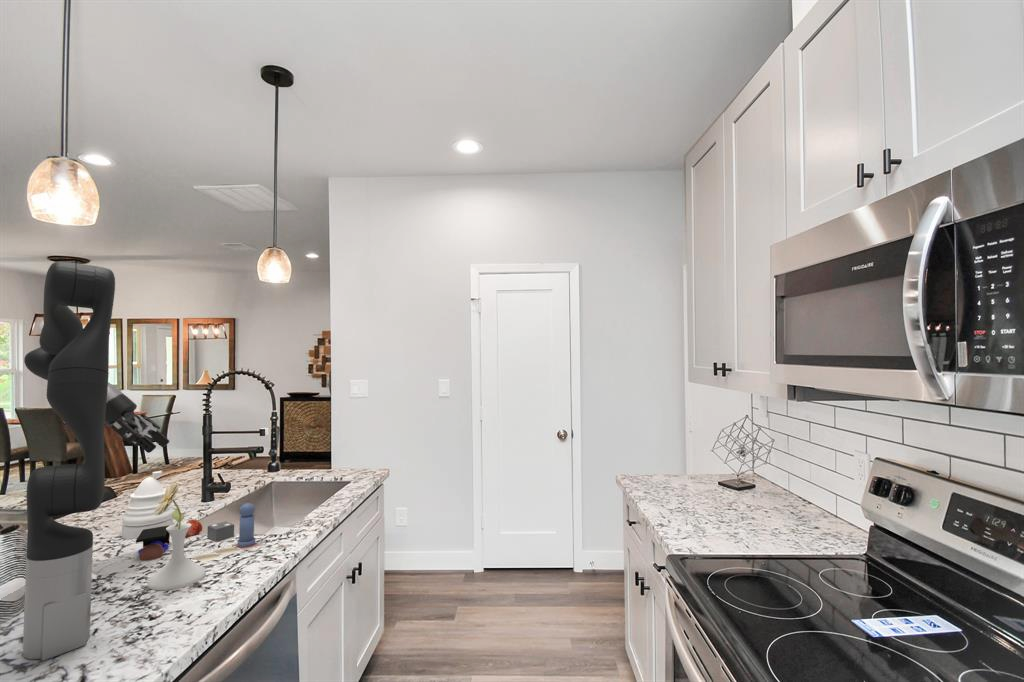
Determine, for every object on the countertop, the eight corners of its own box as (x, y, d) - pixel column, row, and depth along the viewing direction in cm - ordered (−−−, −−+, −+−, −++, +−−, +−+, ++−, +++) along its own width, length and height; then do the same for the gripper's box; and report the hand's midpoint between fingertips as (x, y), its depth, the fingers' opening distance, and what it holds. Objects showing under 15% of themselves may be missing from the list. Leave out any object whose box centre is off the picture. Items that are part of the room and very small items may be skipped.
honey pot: (171, 522, 162) (173, 466, 163) (174, 532, 152) (176, 473, 153) (122, 530, 155) (123, 472, 155) (121, 542, 144) (123, 479, 145)
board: (264, 550, 138) (264, 544, 138) (202, 570, 125) (202, 564, 125) (248, 544, 143) (249, 538, 143) (187, 562, 130) (188, 557, 130)
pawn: (258, 544, 139) (259, 502, 139) (242, 549, 135) (243, 506, 136) (250, 540, 141) (250, 500, 142) (234, 545, 138) (235, 503, 138)
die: (233, 541, 145) (234, 523, 145) (215, 547, 140) (216, 528, 141) (225, 538, 147) (225, 520, 148) (207, 543, 143) (207, 525, 143)
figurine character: (141, 555, 139) (133, 568, 126) (142, 526, 140) (134, 536, 127) (170, 550, 142) (165, 562, 129) (171, 522, 143) (167, 532, 130)
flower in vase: (156, 579, 120) (159, 475, 121) (210, 572, 124) (212, 471, 125) (137, 604, 108) (140, 488, 108) (197, 595, 112) (200, 483, 113)
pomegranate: (186, 541, 150) (169, 532, 144) (198, 523, 153) (182, 514, 147) (201, 545, 148) (184, 536, 142) (212, 527, 151) (196, 517, 146)
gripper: (107, 394, 119) (161, 440, 122) (134, 391, 132) (182, 432, 135) (79, 417, 117) (135, 463, 120) (110, 411, 131) (159, 453, 133)
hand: (159, 447), depth 127 cm, fingers open, 8 cm apart
